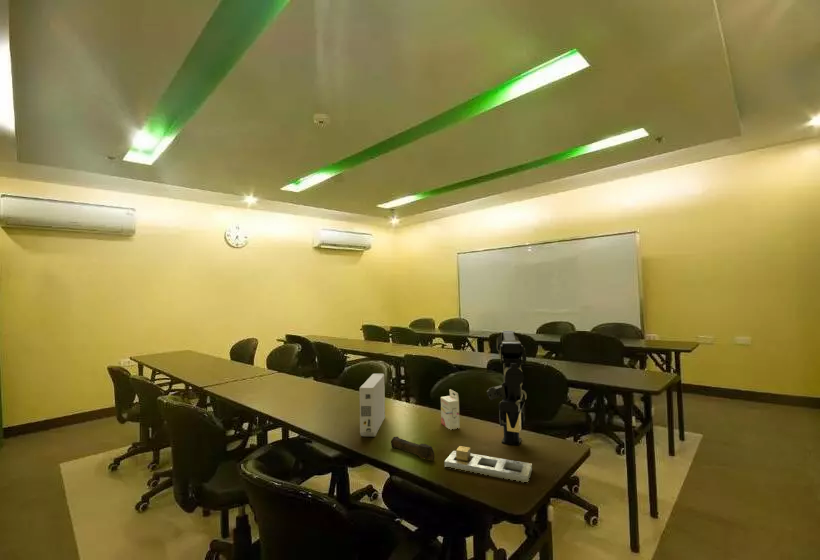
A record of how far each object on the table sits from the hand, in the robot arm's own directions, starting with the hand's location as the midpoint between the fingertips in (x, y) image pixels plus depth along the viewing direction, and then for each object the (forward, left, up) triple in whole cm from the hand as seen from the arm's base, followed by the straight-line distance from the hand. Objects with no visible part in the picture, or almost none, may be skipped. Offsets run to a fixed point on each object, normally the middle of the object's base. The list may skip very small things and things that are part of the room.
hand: (514, 425), depth 124 cm
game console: (-10, -61, -12) cm, 63 cm away
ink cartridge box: (-23, -31, -12) cm, 40 cm away
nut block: (0, 0, -1) cm, 1 cm away
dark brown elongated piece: (+7, -34, -12) cm, 37 cm away
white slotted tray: (+9, -7, -11) cm, 16 cm away
